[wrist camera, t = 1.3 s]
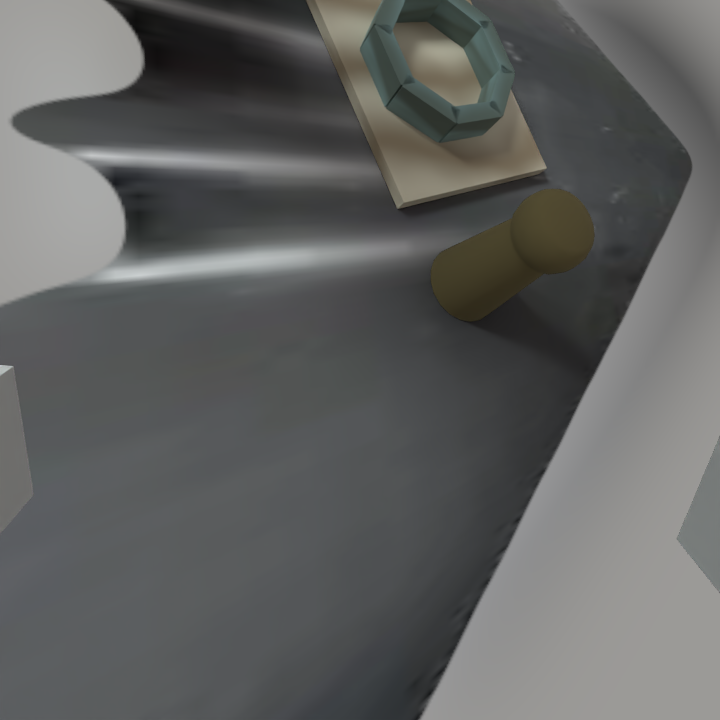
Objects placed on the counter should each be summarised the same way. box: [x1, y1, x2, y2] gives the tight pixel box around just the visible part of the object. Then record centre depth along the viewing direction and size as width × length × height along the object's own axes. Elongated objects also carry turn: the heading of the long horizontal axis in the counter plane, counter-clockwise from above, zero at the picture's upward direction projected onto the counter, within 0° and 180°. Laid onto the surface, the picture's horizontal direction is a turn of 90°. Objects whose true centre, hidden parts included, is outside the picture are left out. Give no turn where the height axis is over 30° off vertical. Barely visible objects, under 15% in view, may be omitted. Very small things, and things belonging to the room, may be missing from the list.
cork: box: [431, 189, 594, 322], centre depth 37 cm, size 6×6×11 cm
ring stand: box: [306, 0, 546, 209], centre depth 44 cm, size 20×16×4 cm
